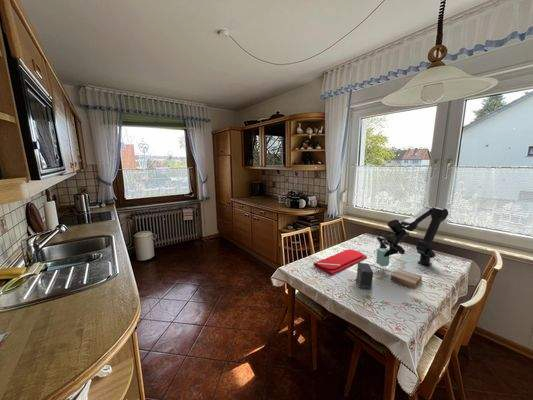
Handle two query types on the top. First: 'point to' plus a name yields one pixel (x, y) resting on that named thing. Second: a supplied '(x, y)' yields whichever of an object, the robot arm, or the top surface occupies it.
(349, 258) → the dish drying mat
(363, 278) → the small box
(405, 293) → the top surface
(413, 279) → the walnut base
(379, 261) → the teal block
